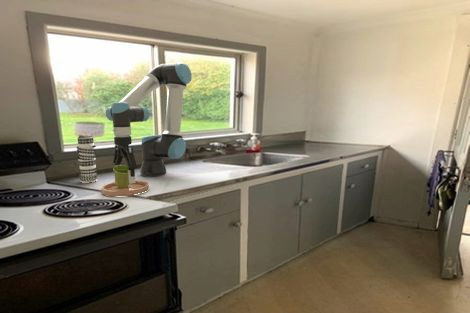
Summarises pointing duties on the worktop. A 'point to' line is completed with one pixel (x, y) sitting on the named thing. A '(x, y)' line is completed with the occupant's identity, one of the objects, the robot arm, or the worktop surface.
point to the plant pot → (121, 176)
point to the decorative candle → (87, 158)
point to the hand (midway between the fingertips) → (125, 180)
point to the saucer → (125, 189)
